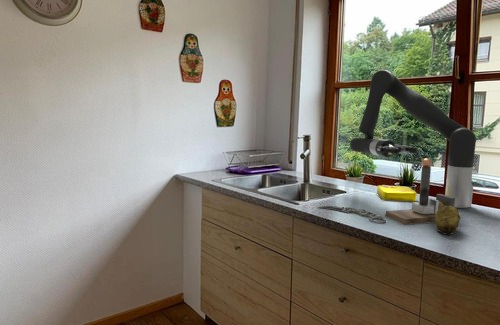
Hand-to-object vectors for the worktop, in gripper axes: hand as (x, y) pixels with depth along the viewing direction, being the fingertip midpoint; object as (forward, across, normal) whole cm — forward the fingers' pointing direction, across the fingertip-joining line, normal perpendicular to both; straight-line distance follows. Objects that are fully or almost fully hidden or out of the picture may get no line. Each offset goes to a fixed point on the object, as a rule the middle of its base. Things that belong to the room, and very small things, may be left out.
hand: (407, 150), depth 143 cm
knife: (0, -23, +24) cm, 34 cm away
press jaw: (+11, 0, +22) cm, 24 cm away
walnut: (+11, +6, +23) cm, 26 cm away
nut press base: (+11, -1, +24) cm, 27 cm away
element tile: (-22, +12, +25) cm, 35 cm away
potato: (+25, -4, +25) cm, 36 cm away
